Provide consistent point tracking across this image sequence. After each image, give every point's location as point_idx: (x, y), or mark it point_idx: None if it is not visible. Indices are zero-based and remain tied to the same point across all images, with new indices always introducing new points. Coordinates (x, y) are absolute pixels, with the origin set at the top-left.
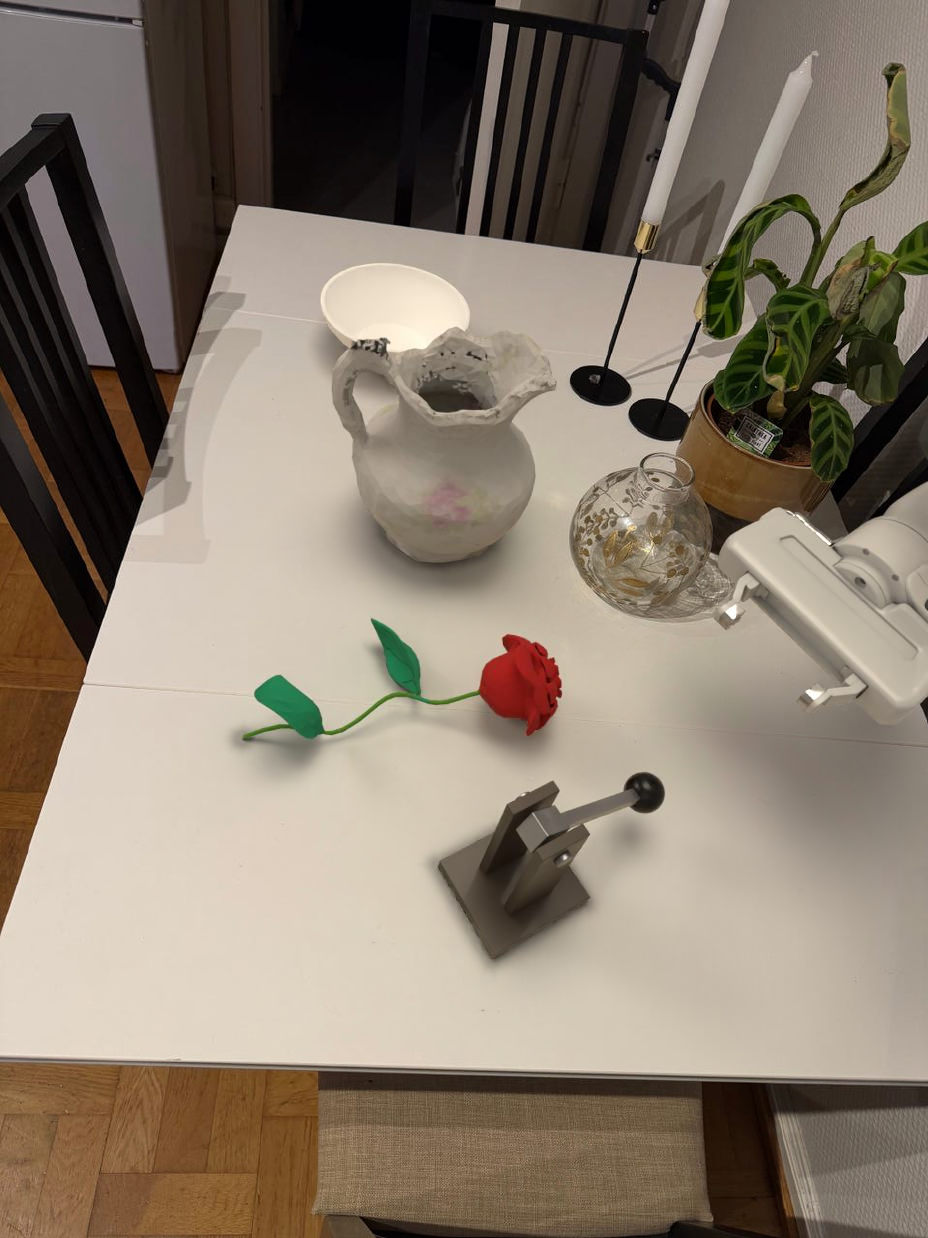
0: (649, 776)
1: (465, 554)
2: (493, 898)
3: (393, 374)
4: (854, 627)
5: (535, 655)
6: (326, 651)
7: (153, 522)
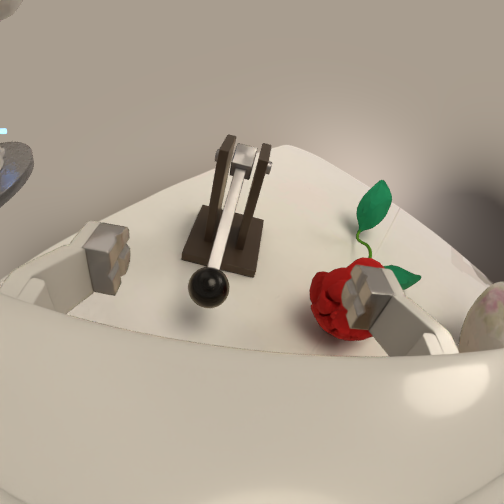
0: (217, 282)
1: None
2: None
3: None
4: (81, 454)
5: None
6: None
7: (468, 262)
